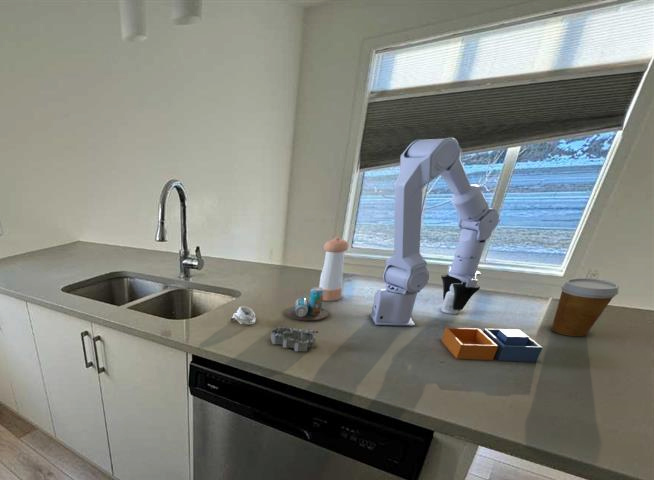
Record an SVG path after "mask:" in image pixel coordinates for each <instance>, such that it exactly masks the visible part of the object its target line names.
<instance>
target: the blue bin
mask: <svg viewBox="0 0 654 480" xmlns="http://www.w3.org/2000/svg"><path fill="white" fill-rule="evenodd" d="M499 330H520V331H522V330H521V329H519V328H518V329H517V328H515V329H514V328H483V330H482V332H483V333H485V334H486V335H487V336H488V337H489V338H490V339H491V340H492V341H493V342H494V343H495V344H497V345H498V348H497V351H496V353H495V356H494V358H495V359H496V360H497V361H506V362H507V361H509V362H531V363H532V362H533V363H536V362H537V361H538V359H539V357H540V354H541V352H542V350H543V346H541V345H540V344H539V343H538V342H536V341H535V340H534V339H533V338H531V337H530V336H528V337H529V339H528V341H527V343H526V346H508V345H504V344H503V343H502V342H501V341H500V340H499V339H498V338H496V337H497V334H498V332H499ZM523 333H524V334H525V335H527V334H526V333H525V332H523Z"/></svg>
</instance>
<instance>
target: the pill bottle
mask: <svg viewBox="0 0 654 480" xmlns="http://www.w3.org/2000/svg"><path fill="white" fill-rule="evenodd" d="M454 284H459V283H454ZM453 301H454V288H453V284H451V286H450V291H448V292H447V293H446V296H445V299H444V300H443V302H442V306H441V312H443V313H445V314H449V315H455V314H459V313H461V310H454V309H453Z"/></svg>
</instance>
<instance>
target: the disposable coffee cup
mask: <svg viewBox="0 0 654 480" xmlns="http://www.w3.org/2000/svg"><path fill="white" fill-rule="evenodd" d="M619 287H620V286H619V284H618V283H616V282H614V281H613V282H612V281H608V280H605V279H598V278H587V277H586V278H585V277H576V278H575V277H573V278H568V279H567V280H566V281H565V282H564V283H563V284H561V286H560V288H561V293H560V297H559V301H558V303H557V308H556V311H555V315H554V319H553V322H552V326H551V331H553V332H555V333H557V334H559V335H564V336H568V337H569V336H570V337H584V336H587V335H588V333H590V330H591V329H592V328H593V326H594V324H595V323H596V322H597V321H598V319H599V318H600V317H601V315H602V314H603V312H604V311H605V309H606V308H607V306H608V305H609V304H610V303H611V301H612V300H613V298H614V297H616V296H617V295H619V294H620V291H619Z"/></svg>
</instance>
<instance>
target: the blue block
mask: <svg viewBox="0 0 654 480" xmlns="http://www.w3.org/2000/svg"><path fill="white" fill-rule="evenodd" d="M520 330H521V329H519V330H499V332H498V334H497V337H496V338H498V339H499V340H500V341H501V342H502V343H503V344H504V345H508V346H526V343H527V341H528V339H529V337H530V336H529V335H527V334H526V333H525V332H523V331H522V330H521V331H520ZM524 333H525V334H526V335H525V334H524Z"/></svg>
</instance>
